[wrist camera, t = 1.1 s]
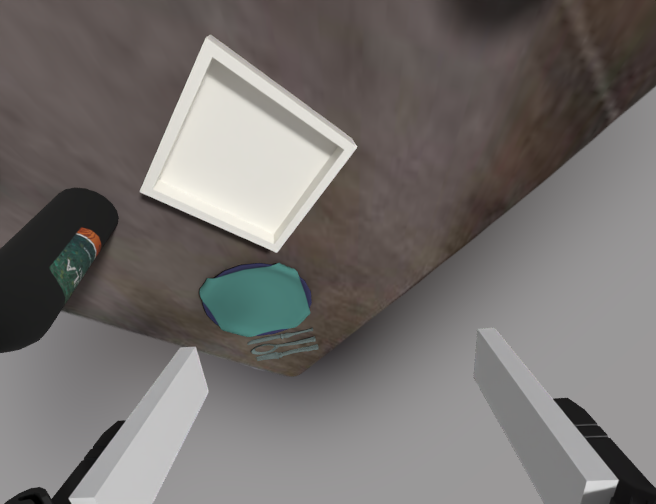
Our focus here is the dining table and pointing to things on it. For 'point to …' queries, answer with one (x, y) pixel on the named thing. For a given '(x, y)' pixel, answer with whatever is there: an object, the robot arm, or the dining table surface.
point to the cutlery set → (259, 303)
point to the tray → (244, 151)
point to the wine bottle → (49, 263)
